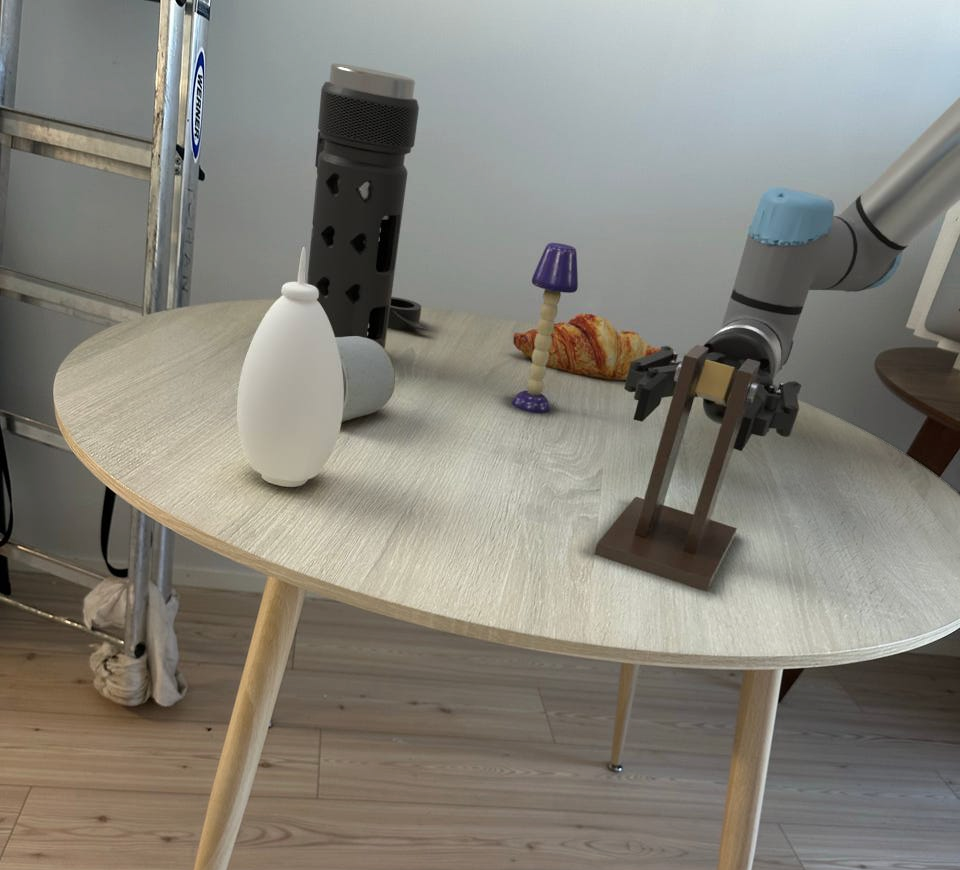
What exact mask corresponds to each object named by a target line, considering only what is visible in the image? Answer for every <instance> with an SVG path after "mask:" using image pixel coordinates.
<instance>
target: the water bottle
mask: <svg viewBox="0 0 960 870" xmlns="http://www.w3.org/2000/svg"><path fill="white" fill-rule="evenodd" d="M329 72H330V74H329V81H325V82H324V83H323V85H322V87H321V89H320V102H319V111H318V112H319V113H318V123H317V130H318V132H317V141H316V153H315V164H314V167H316V168H317V169H316V175H317V176H316V179H315V191H314V199H313V201H314V202H313V214H312V229H311V234H310V235H311V236H310V244H309V246H310V247H309V256H308V257H309V258H308V268H307V282H306V284H310V285H312V286H315V287H316V288H317V289H318V291H319V297H318V299H316V300H317V301H318V302H319V303H320V305H321V306H322V308H323V309H324V311H325V313H326V315H327V317H328V320H329V322H330V324H331V327H332V330H333V332H334V336H335V337H348V336H359V337H364V338H368V339H371V340H374V341H375V342H377V343H378V344H380V345H381V346H382V347H383V348H384V349H385V350H386V342H387V334H388V328H387V327H388V319H389V312H390V304H391V297H393V296H392V295H393V288H394V281H395V280H394V279H395V272H396V265H397V257H398V250H399V241H400V235H401V226H402V218H403V211H404V203H405V196H406V188H407V180H408V169H407V167H406V166H405V165H404V164H405V158H406V155H407V154H411V152H412V148H414V147H415V142H416V141H415V140H416V134H417V128H418V127H417V126H418V119H419V111H420V107H419V102H418V99H417V98H414V95H415V93H414V92H415V86H416V81H415V80H414V79H413V78H411V77H407V76H403V75H399V74H395V73H391V72H386V71H381V70H376V69H371V68H367V67H361V66H355V65H351V64H343V63H331V64H330V71H329Z"/></svg>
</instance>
